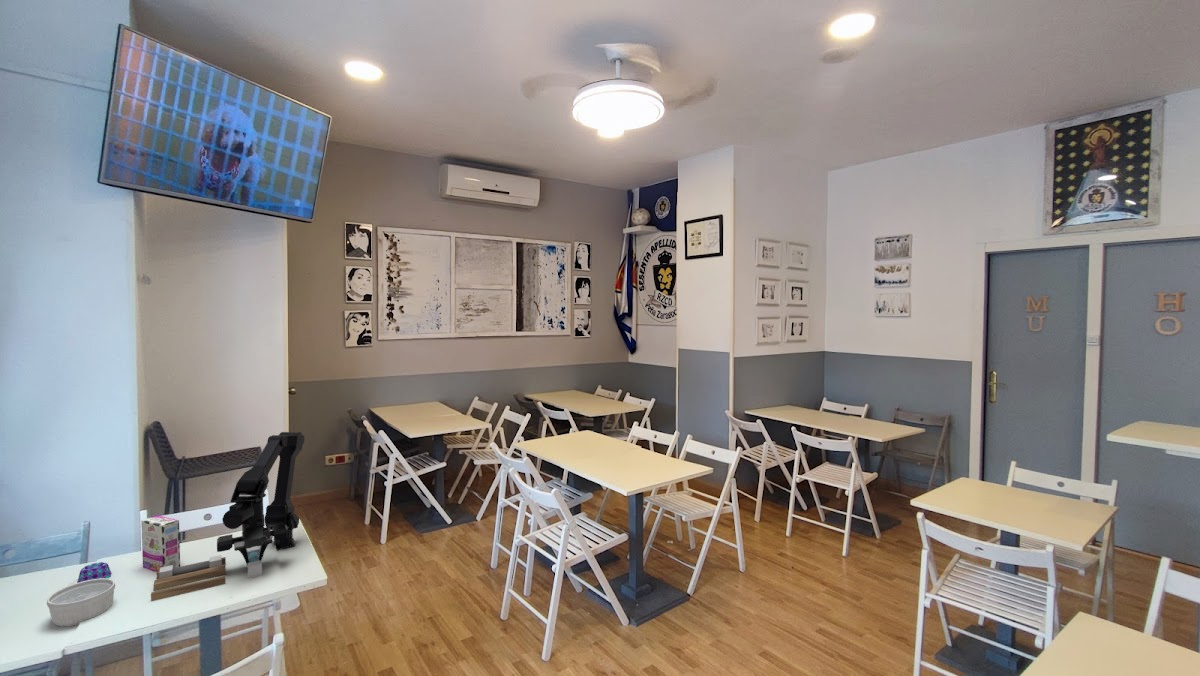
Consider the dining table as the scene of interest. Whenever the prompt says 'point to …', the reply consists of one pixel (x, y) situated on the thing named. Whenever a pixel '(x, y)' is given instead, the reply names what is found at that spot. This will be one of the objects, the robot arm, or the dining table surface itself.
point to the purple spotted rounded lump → (93, 572)
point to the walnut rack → (184, 579)
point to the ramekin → (81, 601)
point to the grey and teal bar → (254, 562)
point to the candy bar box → (160, 542)
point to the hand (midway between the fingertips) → (254, 563)
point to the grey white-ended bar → (190, 567)
